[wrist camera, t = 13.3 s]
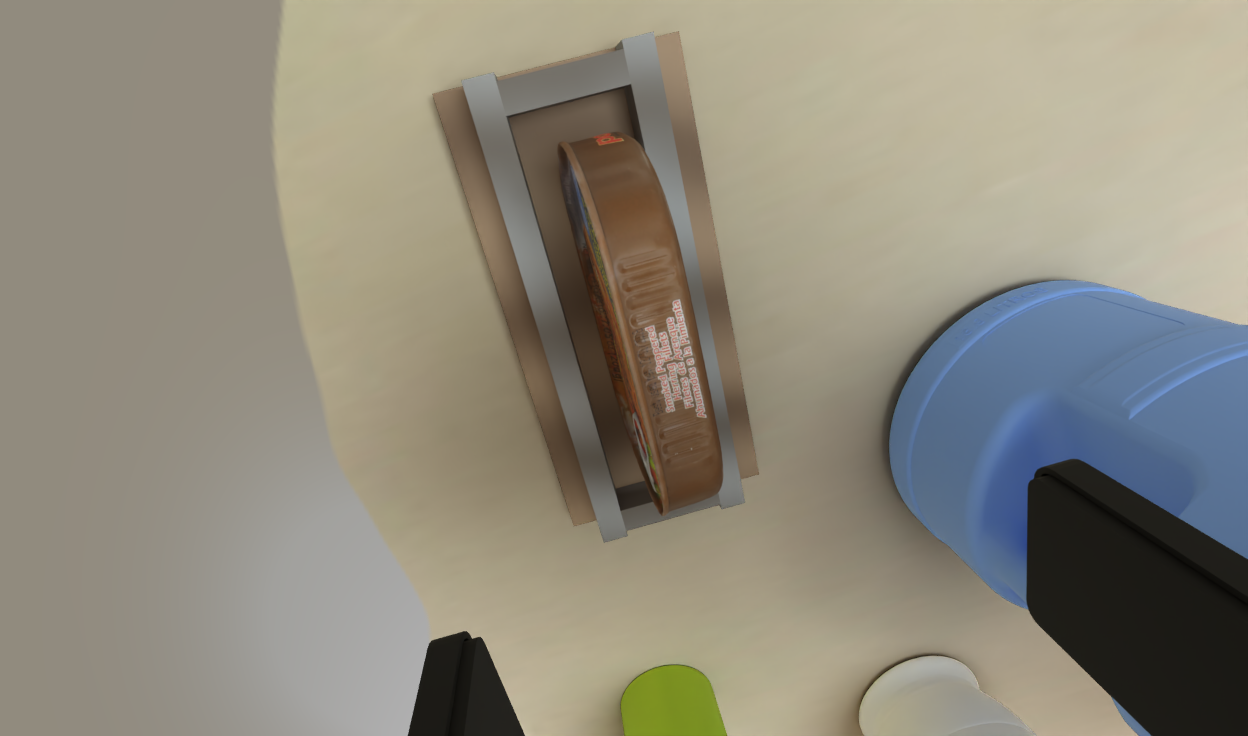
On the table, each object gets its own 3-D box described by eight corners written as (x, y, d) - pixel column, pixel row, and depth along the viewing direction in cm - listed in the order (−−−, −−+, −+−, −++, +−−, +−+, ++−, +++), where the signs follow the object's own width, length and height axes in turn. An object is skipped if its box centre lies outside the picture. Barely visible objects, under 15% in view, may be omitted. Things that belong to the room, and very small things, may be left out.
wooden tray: (752, 464, 33) (772, 495, 30) (572, 515, 33) (576, 550, 30) (673, 34, 25) (690, 22, 22) (436, 95, 25) (423, 90, 22)
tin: (548, 143, 25) (552, 145, 17) (623, 124, 25) (660, 118, 17) (630, 455, 31) (662, 564, 23) (691, 438, 31) (743, 541, 23)
